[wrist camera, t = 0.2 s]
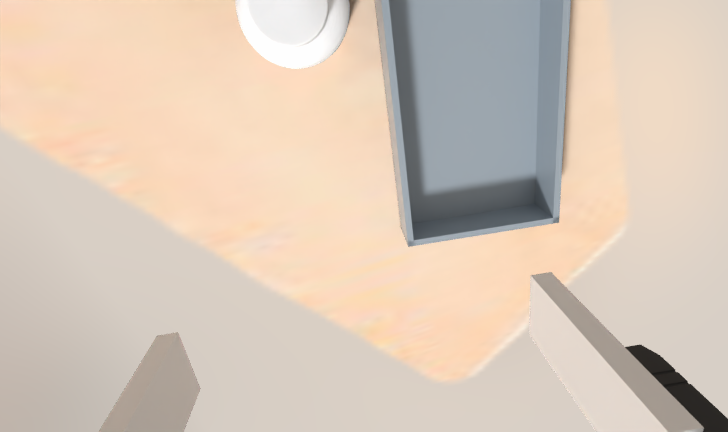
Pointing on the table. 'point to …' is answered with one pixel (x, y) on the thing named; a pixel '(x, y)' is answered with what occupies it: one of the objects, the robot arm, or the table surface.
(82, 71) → the table surface
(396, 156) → the tote
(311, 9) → the pill bottle
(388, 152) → the table surface
